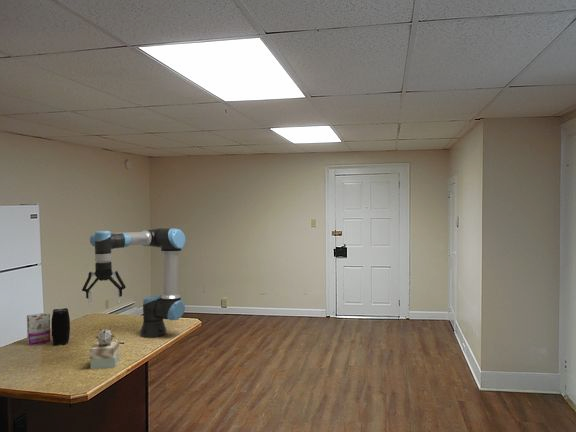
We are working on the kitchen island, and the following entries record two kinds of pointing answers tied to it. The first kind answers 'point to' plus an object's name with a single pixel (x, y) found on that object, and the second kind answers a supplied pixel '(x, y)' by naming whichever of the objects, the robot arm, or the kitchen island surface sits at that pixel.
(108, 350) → the upper block
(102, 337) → the game die
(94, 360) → the lower block
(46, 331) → the candy bar box
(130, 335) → the kitchen island surface
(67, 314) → the portable speaker
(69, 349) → the kitchen island surface
